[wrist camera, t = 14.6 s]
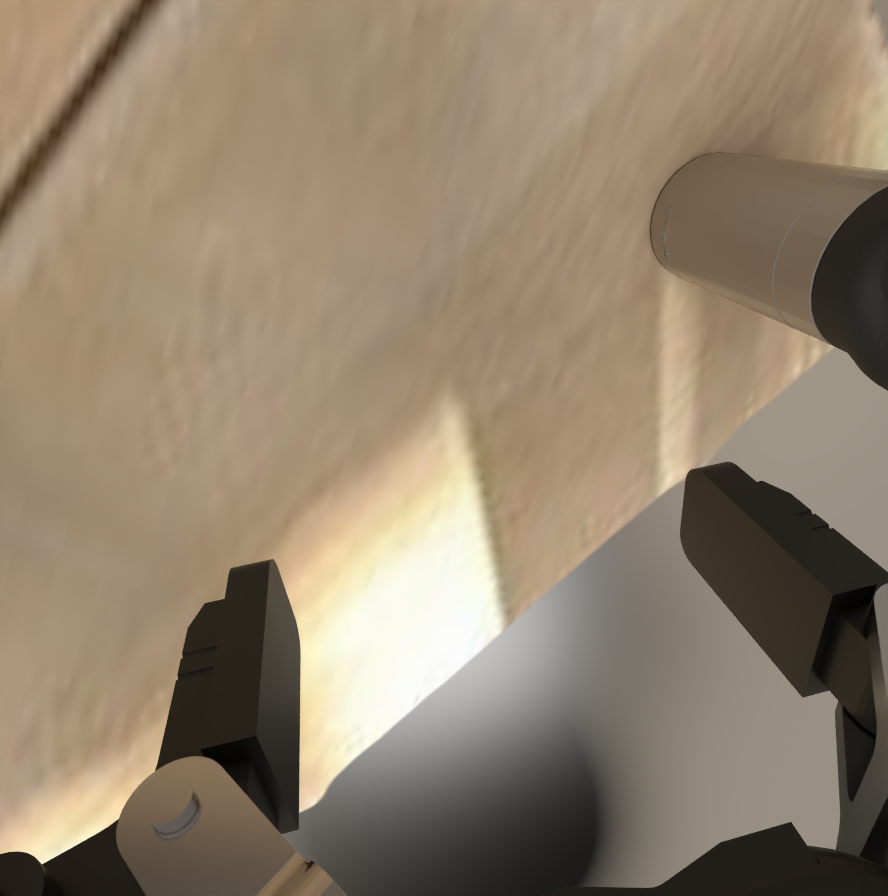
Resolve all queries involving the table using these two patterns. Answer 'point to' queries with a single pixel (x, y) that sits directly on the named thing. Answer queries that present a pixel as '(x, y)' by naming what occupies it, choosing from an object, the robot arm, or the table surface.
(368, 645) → the table surface
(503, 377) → the table surface
